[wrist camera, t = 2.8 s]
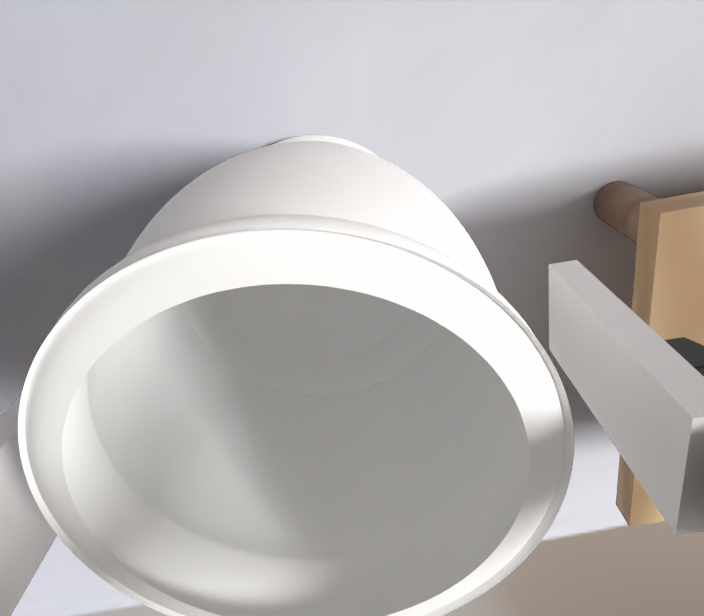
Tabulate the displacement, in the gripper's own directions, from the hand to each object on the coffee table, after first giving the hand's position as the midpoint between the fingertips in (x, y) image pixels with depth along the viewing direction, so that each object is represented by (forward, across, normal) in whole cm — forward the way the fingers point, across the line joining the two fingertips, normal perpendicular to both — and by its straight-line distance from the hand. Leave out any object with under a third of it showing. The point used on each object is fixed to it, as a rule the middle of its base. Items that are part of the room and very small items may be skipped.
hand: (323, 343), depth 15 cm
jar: (+10, 0, 0) cm, 10 cm away
